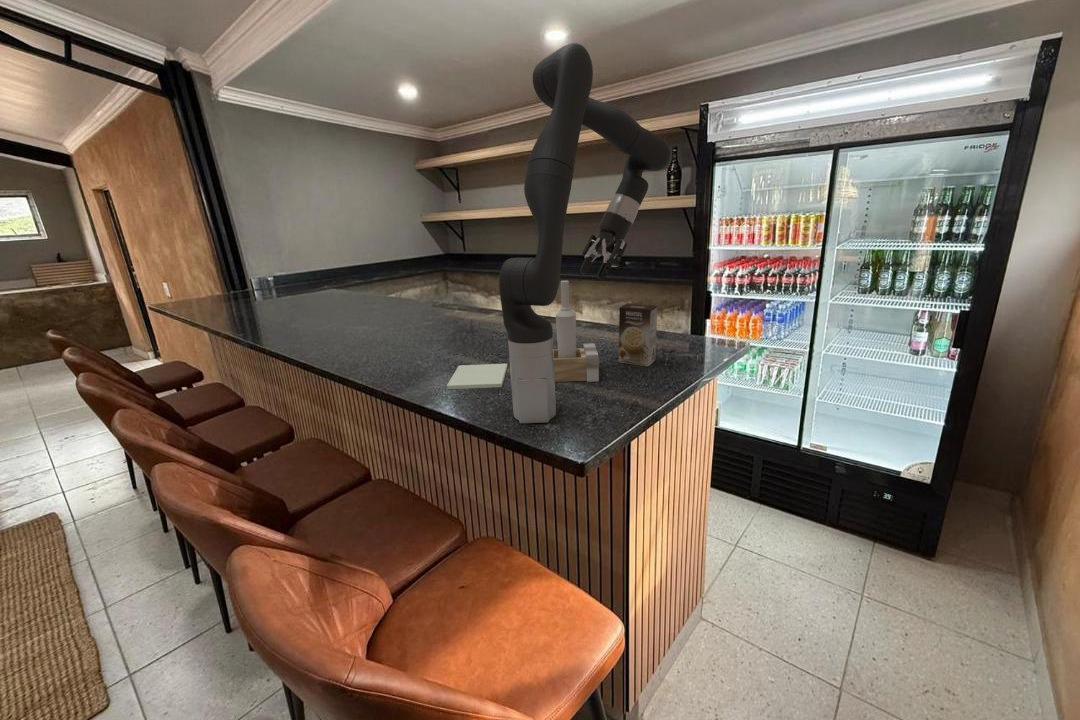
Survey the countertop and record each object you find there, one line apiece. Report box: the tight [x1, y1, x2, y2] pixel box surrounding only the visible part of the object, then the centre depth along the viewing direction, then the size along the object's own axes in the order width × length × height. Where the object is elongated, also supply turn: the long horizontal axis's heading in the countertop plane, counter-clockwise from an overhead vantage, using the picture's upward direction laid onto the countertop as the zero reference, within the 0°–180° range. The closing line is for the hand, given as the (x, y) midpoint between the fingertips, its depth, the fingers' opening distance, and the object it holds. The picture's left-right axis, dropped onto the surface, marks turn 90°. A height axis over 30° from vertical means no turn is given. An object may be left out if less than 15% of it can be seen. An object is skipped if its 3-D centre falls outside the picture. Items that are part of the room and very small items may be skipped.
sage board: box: [446, 363, 508, 390], centre depth 121 cm, size 16×14×1 cm
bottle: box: [555, 280, 577, 358], centre depth 116 cm, size 5×5×25 cm
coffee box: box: [618, 302, 658, 367], centre depth 125 cm, size 9×6×16 cm
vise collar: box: [553, 342, 600, 383], centre depth 119 cm, size 12×15×7 cm
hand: (591, 275), depth 116 cm, fingers open, 8 cm apart
